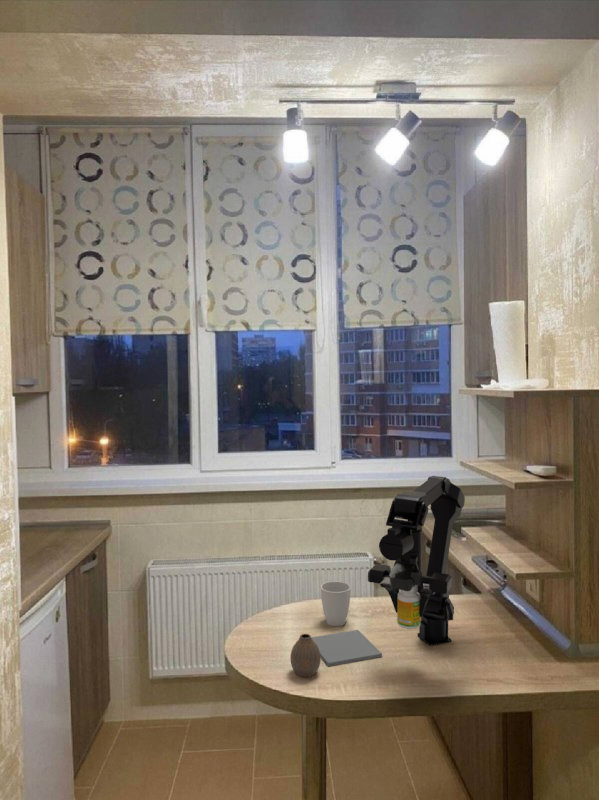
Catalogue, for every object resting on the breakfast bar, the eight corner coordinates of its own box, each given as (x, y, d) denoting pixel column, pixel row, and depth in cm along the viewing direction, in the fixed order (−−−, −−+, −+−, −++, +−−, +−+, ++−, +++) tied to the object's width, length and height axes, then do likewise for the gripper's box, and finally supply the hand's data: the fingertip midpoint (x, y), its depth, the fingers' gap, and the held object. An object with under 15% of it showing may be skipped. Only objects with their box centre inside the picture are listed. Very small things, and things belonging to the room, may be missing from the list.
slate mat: (357, 632, 161) (357, 629, 161) (381, 656, 148) (382, 653, 148) (308, 640, 157) (308, 637, 157) (328, 666, 144) (328, 663, 144)
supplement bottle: (415, 631, 140) (415, 589, 139) (393, 626, 142) (393, 585, 142) (424, 623, 144) (424, 582, 144) (402, 618, 147) (402, 578, 146)
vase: (291, 665, 144) (291, 629, 144) (320, 665, 144) (320, 629, 144) (289, 680, 137) (289, 642, 137) (320, 680, 137) (320, 642, 137)
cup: (350, 616, 172) (350, 581, 171) (350, 629, 164) (350, 592, 163) (321, 615, 172) (321, 581, 172) (320, 628, 164) (319, 591, 164)
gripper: (359, 553, 139) (359, 620, 140) (441, 564, 131) (441, 635, 132) (375, 540, 149) (375, 602, 150) (452, 550, 141) (452, 616, 142)
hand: (409, 614), depth 143 cm, fingers closed on supplement bottle, 5 cm apart
